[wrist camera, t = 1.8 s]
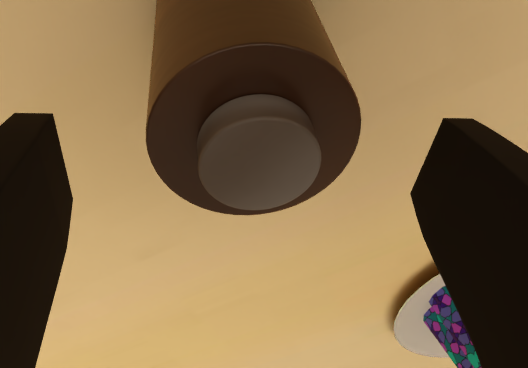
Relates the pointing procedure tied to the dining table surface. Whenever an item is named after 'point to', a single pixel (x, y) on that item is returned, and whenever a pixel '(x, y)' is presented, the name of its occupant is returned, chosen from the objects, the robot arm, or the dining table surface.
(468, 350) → the pudding
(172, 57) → the salt shaker
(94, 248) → the dining table surface
